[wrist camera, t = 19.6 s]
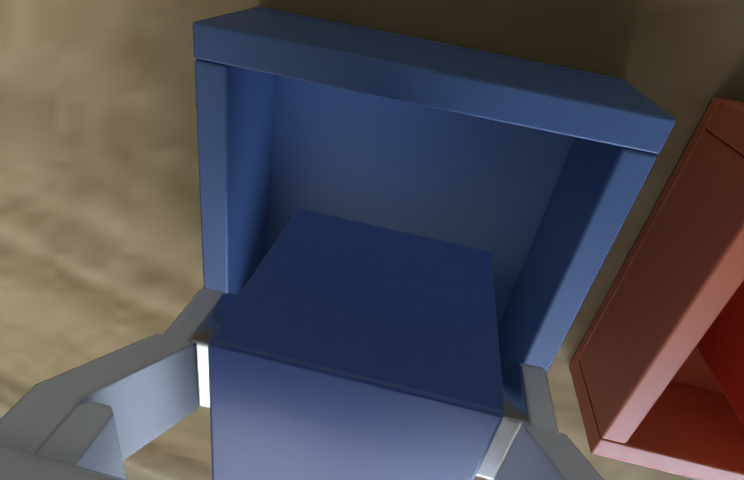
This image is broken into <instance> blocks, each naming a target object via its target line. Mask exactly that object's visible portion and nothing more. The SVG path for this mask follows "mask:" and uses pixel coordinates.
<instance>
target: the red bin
mask: <svg viewBox="0 0 744 480" xmlns="http://www.w3.org/2000/svg"><path fill="white" fill-rule="evenodd" d="M743 280H744V103H743V102H738V101H733V100H728V99H723V98H718V97H714V98H713V99H712V101H711V103H710V105H709V107H708V109H707V110H706V112H705V114H704V116H703V118H702V120H701V122H700V123H699V125H698V127H697V129H696V131H695V133H694V135H693V136H692V138H691V140H690V142H689V144H688V146H687V147H686V149H685V151H684V153H683V155H682V157H681V159H680V160H679V162H678V164H677V166H676V168H675V170H674V172H673V173H672V175H671V177H670V179H669V181H668V183H667V185H666V186H665V188H664V190H663V192H662V194H661V196H660V198H659V199H658V201H657V203H656V205H655V207H654V209H653V211H652V212H651V214H650V216H649V218H648V220H647V222H646V223H645V225H644V227H643V229H642V231H641V233H640V235H639V236H638V238H637V240H636V242H635V244H634V246H633V248H632V249H631V251H630V253H629V255H628V257H627V259H626V261H625V262H624V264H623V266H622V268H621V270H620V272H619V274H618V275H617V277H616V279H615V281H614V283H613V285H612V287H611V288H610V290H609V292H608V294H607V296H606V298H605V299H604V301H603V303H602V305H601V307H600V309H599V311H598V312H597V314H596V316H595V318H594V320H593V322H592V324H591V325H590V327H589V329H588V331H587V333H586V335H585V337H584V338H583V340H582V342H581V344H580V346H579V348H578V350H577V351H576V353H575V355H574V357H573V359H572V361H571V363H570V364H569V369H570V372H571V376H572V380H573V384H574V388H575V392H576V396H577V400H578V404H579V407H580V411H581V415H582V419H583V423H584V427H585V431H586V435H587V439H588V443H589V447H590V451H591V453H592V454H596V455H600V456H604V457H608V458H612V459H616V460H620V461H624V462H628V463H632V464H636V465H640V466H645V467H649V468H653V469H657V470H661V471H665V472H669V473H673V474H677V475H681V476H685V477H689V478H693V479H697V480H744V425H743V423H742V422H741V420H740V418H739V417H738V415H737V413H736V412H735V410H734V408H733V407H732V405H731V403H730V402H729V400H728V398H727V397H726V395H725V393H724V392H723V390H722V388H721V386H720V385H719V383H718V381H717V380H716V378H715V376H714V375H713V373H712V371H711V370H710V368H709V366H708V365H707V363H706V361H705V360H704V358H703V356H702V354H701V353H700V351H699V349H698V348H697V346H696V345H697V344H698V342H699V341H700V340H701V338H702V337H703V336H704V334H705V333H706V331H707V330H708V329H709V327H710V326H711V324H712V323H713V322H714V320H715V319H716V318H717V316H718V315H719V313H720V312H721V311H722V309H723V308H724V306H725V305H726V304H727V302H728V301H729V299H730V298H731V297H732V295H733V294H734V293H735V291H736V290H737V288H738V287H739V286H740V284H741V283H742V281H743Z"/></svg>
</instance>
